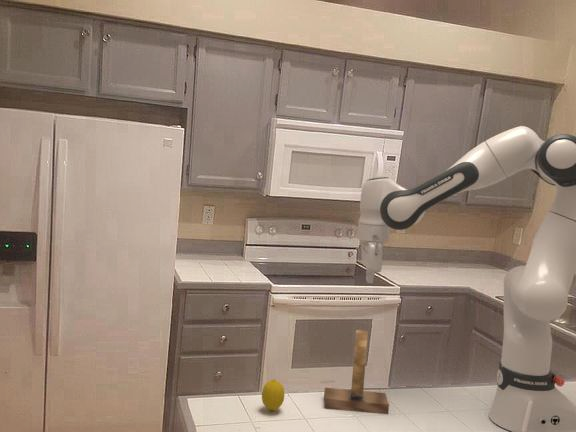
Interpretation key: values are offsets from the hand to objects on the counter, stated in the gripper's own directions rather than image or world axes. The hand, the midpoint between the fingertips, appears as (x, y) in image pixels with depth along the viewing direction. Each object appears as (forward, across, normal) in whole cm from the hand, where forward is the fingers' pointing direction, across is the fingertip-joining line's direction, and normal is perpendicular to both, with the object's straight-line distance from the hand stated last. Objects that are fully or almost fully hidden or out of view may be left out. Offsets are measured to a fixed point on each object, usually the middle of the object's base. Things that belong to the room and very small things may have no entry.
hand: (369, 282), depth 149 cm
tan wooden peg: (+26, -18, +3) cm, 32 cm away
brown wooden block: (+29, -16, +3) cm, 34 cm away
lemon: (+29, -24, +24) cm, 45 cm away
